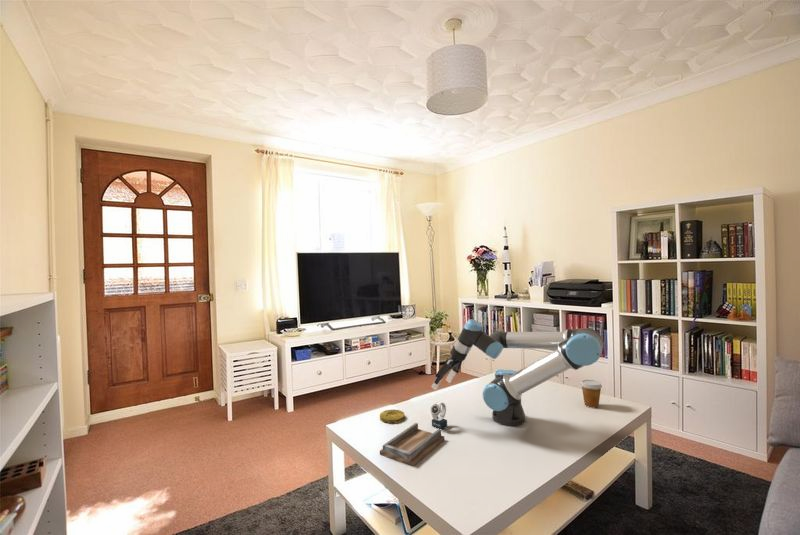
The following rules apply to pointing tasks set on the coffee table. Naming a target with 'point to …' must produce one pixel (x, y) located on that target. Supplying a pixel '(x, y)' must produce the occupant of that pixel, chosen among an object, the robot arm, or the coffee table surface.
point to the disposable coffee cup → (591, 392)
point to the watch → (435, 411)
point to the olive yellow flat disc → (392, 416)
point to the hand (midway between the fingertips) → (440, 384)
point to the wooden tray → (412, 445)
